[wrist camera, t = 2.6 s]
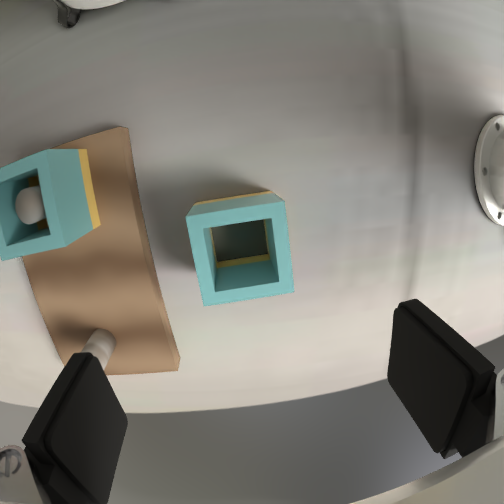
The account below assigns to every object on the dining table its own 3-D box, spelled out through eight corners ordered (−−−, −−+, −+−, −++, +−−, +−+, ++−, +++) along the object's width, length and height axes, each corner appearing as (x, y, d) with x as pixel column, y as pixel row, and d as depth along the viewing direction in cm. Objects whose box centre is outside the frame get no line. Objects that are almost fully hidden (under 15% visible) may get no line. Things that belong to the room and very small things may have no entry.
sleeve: (280, 262, 26) (294, 292, 21) (208, 273, 26) (204, 306, 20) (271, 190, 25) (284, 201, 19) (195, 202, 24) (185, 216, 19)
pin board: (180, 358, 28) (170, 408, 22) (76, 364, 28) (51, 407, 21) (128, 128, 22) (93, 119, 15) (15, 165, 22) (-34, 173, 15)
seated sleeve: (100, 225, 22) (65, 246, 16) (42, 238, 22) (1, 261, 16) (86, 148, 20) (46, 149, 15) (28, 168, 20) (-17, 176, 14)
